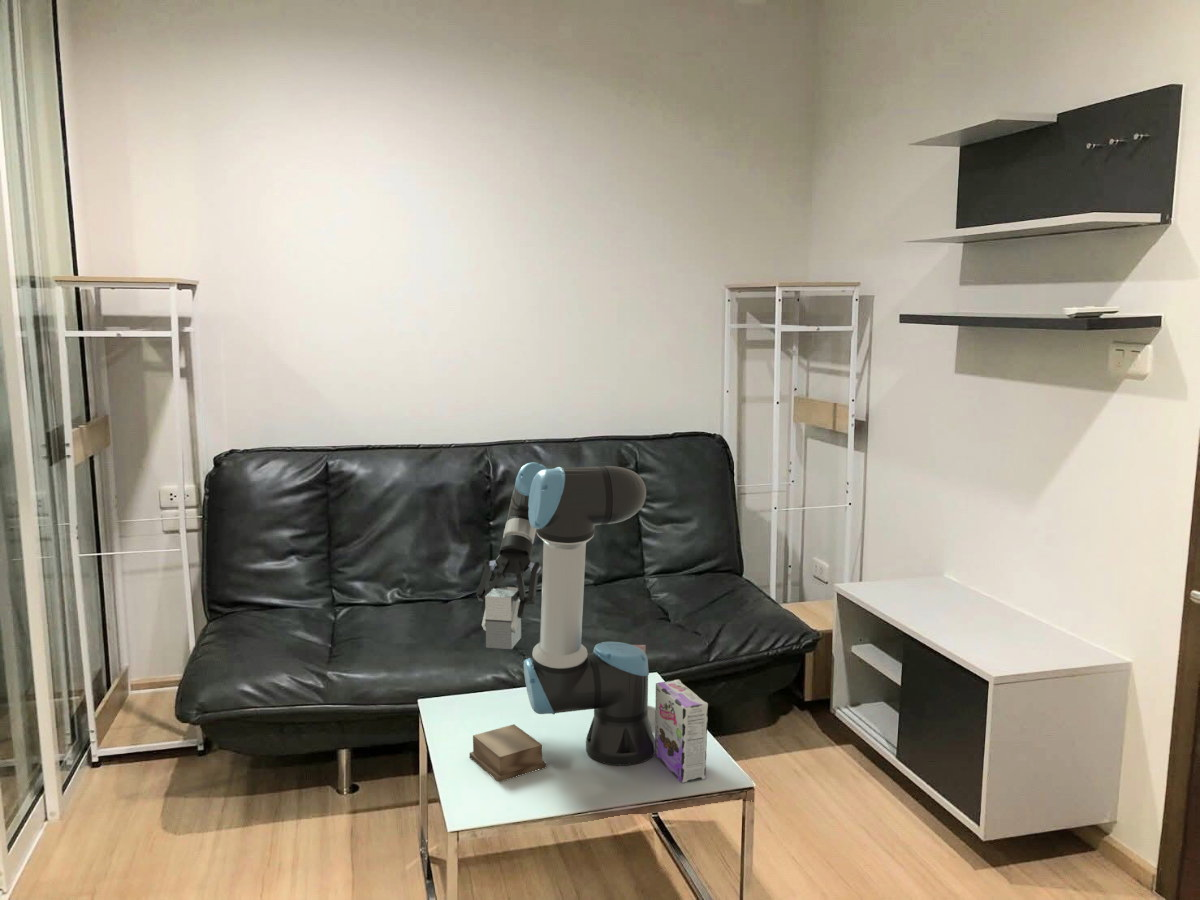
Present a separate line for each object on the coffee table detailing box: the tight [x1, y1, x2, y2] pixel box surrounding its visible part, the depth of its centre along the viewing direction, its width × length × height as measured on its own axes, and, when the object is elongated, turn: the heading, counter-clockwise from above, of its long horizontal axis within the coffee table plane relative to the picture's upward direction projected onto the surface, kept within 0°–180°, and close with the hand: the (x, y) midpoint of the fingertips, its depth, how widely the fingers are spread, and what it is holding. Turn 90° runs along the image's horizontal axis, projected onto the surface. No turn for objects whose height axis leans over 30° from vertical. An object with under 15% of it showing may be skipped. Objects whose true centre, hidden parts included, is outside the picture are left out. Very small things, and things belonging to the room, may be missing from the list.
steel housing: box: [485, 586, 522, 650], centre depth 219 cm, size 6×8×12 cm
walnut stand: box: [469, 724, 547, 783], centre depth 202 cm, size 11×13×5 cm
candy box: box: [654, 679, 709, 784], centre depth 200 cm, size 14×6×16 cm, turn 21°
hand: (499, 628), depth 216 cm, fingers closed on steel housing, 6 cm apart
